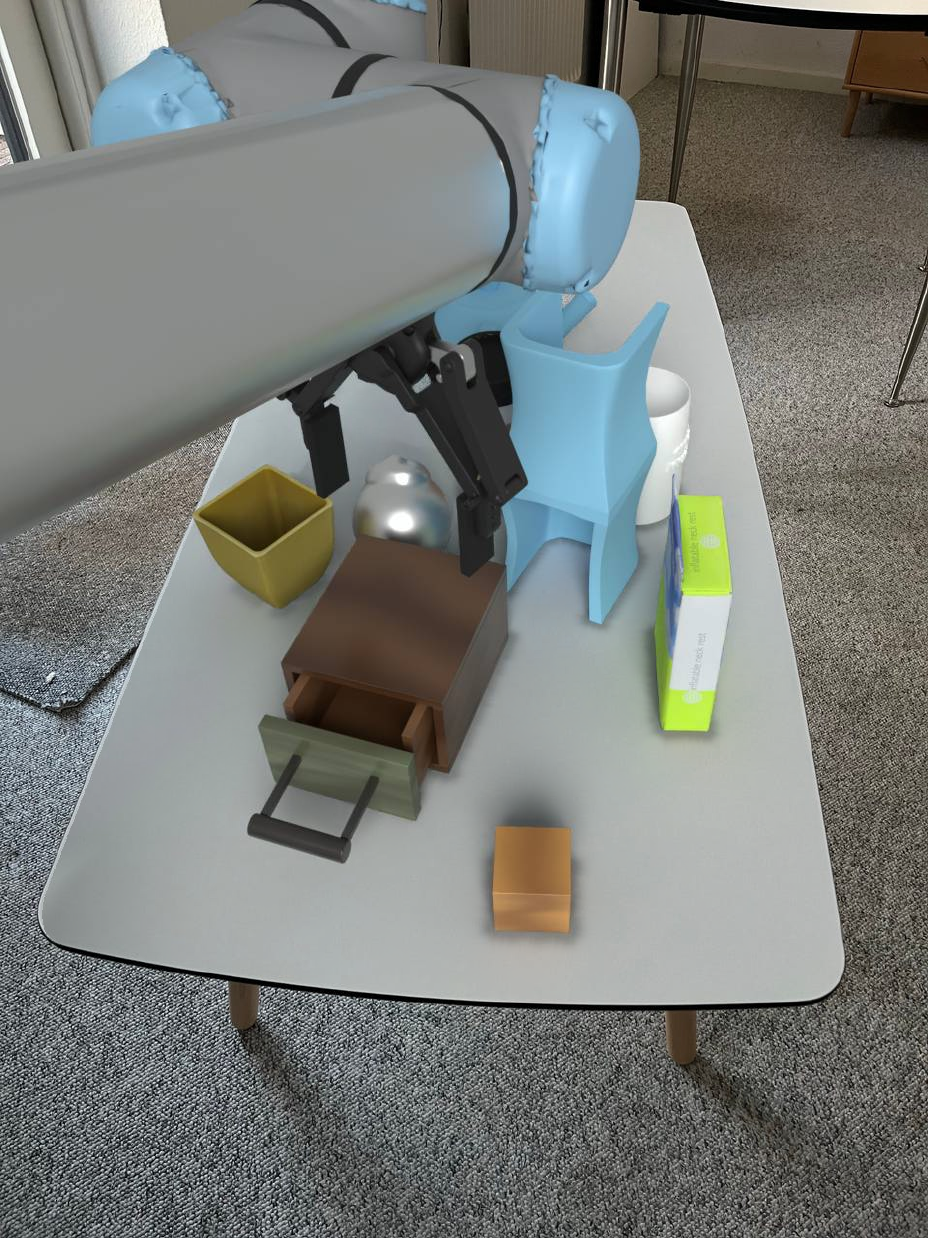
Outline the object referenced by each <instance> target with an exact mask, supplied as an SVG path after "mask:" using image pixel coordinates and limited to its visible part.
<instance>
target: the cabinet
mask: <svg viewBox="0 0 928 1238" xmlns="http://www.w3.org/2000/svg"><path fill="white" fill-rule="evenodd" d="M508 601H509V600H508V591H507V565H506V564H505V563H501V562H497V561H492V560H489V561H488V562H487V563H486V564H484V565H483V566H482V567H481V568H480V569H479V570H478V571H476V572H475V573H474V574H473V575H472V576H471V577H470V578H469V577H467V576H465V575H463V574H462V573H461V570H460V554H459V553H454V552H449V551H444V550H442V551H440V550H435V549H430V548H425V547H421V546H416V545H411V544H406V543H401V542H397V541H392V540H387V539H382V538H378V537H373V536H368V535H363V534H359V536H358V538H357V539H356V538H355V541H354V542H353V544H352V545H351V547H350V549H349V551H348V553H347V554H346V556H345V557H344V559H343V560H342V562H341V563H340V565H339V567H338V569H337V570H336V572H335V573H334V575H333V577H332V578H331V580H330V581H329V583H328V585H327V587H326V588H325V590H324V591H323V593H322V594H321V596H320V598H319V599H318V601H317V603H316V605H315V606H314V608H313V609H312V610H311V613H310V614H309V616H308V617H307V619H306V620H305V622H304V624H303V625H302V627H301V629H300V630H299V632H298V633H297V635H296V637H295V638H294V640H293V642H292V643H291V645H290V647H289V648H288V650H287V652H286V653H285V655H284V657H283V658H282V660H281V661H280V666H281V669H282V675H283V677H284V680H285V685H286V689H287V692H288V694H289V693H290V691H291V689H292V688H293V686H294V684H295V683H296V681H297V679H298V677H299V676H300V674H303V675H307V676H311V677H315V678H319V679H323V680H327V681H331V682H335V683H339V684H343V685H347V686H351V687H355V688H359V689H363V690H367V691H371V692H375V693H379V694H383V695H387V696H391V697H395V698H399V699H403V700H407V701H411V702H415V703H419V704H423V705H426V706H430V707H433V716H434V725H435V734H436V743H437V750H436V753H435V755H434V757H433V759H432V761H431V764H430V766H429V768H428V770H432V771H436V772H439V773H443V774H447V775H449V774H450V773H451V771H452V768H453V766H454V764H455V762H456V759H457V757H458V754H459V753H460V751H461V748H462V745H463V743H464V741H465V739H466V736H467V734H468V731H469V730H470V727H471V724H472V723H473V721H474V718H475V715H476V713H477V711H478V709H479V707H480V704H481V702H482V699H483V698H484V695H485V692H486V690H487V688H488V686H489V684H490V681H491V679H492V677H493V674H494V672H495V669H496V668H497V665H498V662H499V661H500V658H501V656H502V654H503V652H504V649H505V647H506V645H507V642H508V640H509V606H508V605H509V603H508Z"/></svg>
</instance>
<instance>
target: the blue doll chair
mask: <svg viewBox="0 0 928 1238" xmlns="http://www.w3.org/2000/svg"><path fill="white" fill-rule="evenodd" d="M670 307H671V305H670V303H665V302H661V301H656V302H655V303H654V305H653V307H652V308H651V309H650V310H649V312H648V313H647V314H646V315H645V317H644V318H643V319H642V321H641V322H640V323H639V324H638V325H637V327H636V328H635V329H634V331H633V332H632V333H631V335H630V336H629V337H628V338H627V340H626V341H625V342H624V343H623V344H622V345H621V347H620V348H619V349H618V350H615V351H612V352H604V353H581V352H576V351H573V350H572V351H571V350H568V349H564V338H563V312H562V309H563V294H562V293H555V292H548V291H541V290H536V292H535V294H534V295H533V296H532V297H531V298H530V299H529V300H528V301H527V302H526V303H525V304H524V305H523V306H522V307H521V308H520V310H519V311H518V312H517V313H516V314H515V315H514V316H513V317H512V318H511V319H510V320H509V321H508V322H507V324H506V325H505V326H504V327H503V329H502V331H501V333H500V339H501V343H502V347H503V350H504V354H505V358H506V361H507V366H508V370H509V375H510V381H511V387H512V395H513V416H512V424H511V430H510V434H509V435H510V437H511V440H512V442H513V445H514V447H515V449H516V452H517V454H518V457H519V459H520V462H521V464H522V467H523V469H524V471H525V474H526V476H527V479H528V485H527V486H526V487H525V488H524V489H523V490H521V491H520V492H519V493H518V494H517V495H516V496H514V497H513V498H512V499H511V500H510V501H508V502H507V503H506V504H505V505H504V506H502V507H501V513H502V515H503V519H504V523H505V527H506V536H507V546H506V556H505V562H504V564H506V565H507V593H508V592H510V591H511V589H512V588H513V586H514V584H515V583H516V582H517V581H518V579H519V578H520V576H521V575H522V574H523V572H524V571H525V569H526V568H527V567H528V565H529V564H530V562H531V561H532V560H533V559H534V557H535V555H536V554H537V553H538V551H539V550H540V549H541V547H542V546H543V545H544V544H545V543H546V542H548V541H551V540H554V539H560V538H562V539H563V538H564V539H570V540H573V541H577V542H580V543H583V544H586V545H590V558H589V576H588V592H589V593H588V611H589V612H588V620H589V621H591V622H593V623H596V624H599V625H602V624H603V622H604V621H605V619H606V617H607V616H608V614H609V613H610V611H611V610H612V608H613V606H614V605H615V604H616V601H617V600H618V598H619V597H620V595H621V593H622V592H623V590H624V589H625V587H626V586H627V584H628V582H629V581H630V579H631V577H632V576H633V574H634V572H635V570H636V569H637V567H638V565H639V563H640V557H639V556H640V555H639V550H638V544H637V543H638V542H637V525H636V514H637V508H638V503H639V499H640V495H641V492H642V489H643V486H644V483H645V481H646V478H647V475H648V473H649V470H650V468H651V465H652V463H653V460H654V458H655V456H656V450H657V440H656V437H655V435H654V432H653V429H652V426H651V423H650V419H649V415H648V410H647V404H646V381H647V375H648V369H649V367H650V365H651V361H652V357H653V354H654V351H655V347H656V345H657V341H658V339H659V336H660V333H661V331H662V328H663V326H664V324H665V321H666V318H667V316H668V313H669V310H670Z"/></svg>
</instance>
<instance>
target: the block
mask: <svg viewBox="0 0 928 1238" xmlns="http://www.w3.org/2000/svg"><path fill="white" fill-rule="evenodd" d="M571 830H572V829H571V827H541V826H540V827H537V826H511V825H510V826H507V825H496V826H495V831H494V832H495V833H494V834H495V835H494V855H493V875H492V892H491V893H492V909H493V926H494V930H495V931H512V932H513V931H514V932H538V933H539V932H543V933H567V934H568V933H570V925H571V904H572V848H571V846H572V844H571V843H572V837H571V836H572V835H571V833H572V832H571Z"/></svg>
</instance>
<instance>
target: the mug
mask: <svg viewBox="0 0 928 1238" xmlns="http://www.w3.org/2000/svg"><path fill="white" fill-rule="evenodd" d="M646 404H647V410H648V415H649V419H650V423H651V426H652V429H653V432H654V435H655V437H656V440H657V450H656V456H655V458H654V460H653V463H652V465H651V468H650V470H649V473H648V475H647V478H646V481H645V483H644V486H643V489H642V492H641V495H640V499H639V503H638V508H637V514H636V526H644V525H645V526H646V525H650V524H655V523H658V522H660V521H662V520H664V519H666V518H667V517H670V510H671V501H672V476H673V474H674V473H675V474H676V479H677V493H678V495H680V491H681V482H682V474H683V467H684V462H685V460H686V458H687V455H688V451H689V450H688V449H689V441H690V434H691V432H690V431H691V428H690V425H689V420H690V414H691V404H692V392H691V389H690V386H689V384H688V383H687V381H686V380H685V379H683V378H682V377H681V376H680V375H678V374H677V373H675V372H672V371H669V370H668V369H664V368H660V367H656V366H655V367H654V366H649V369H648V375H647V381H646Z"/></svg>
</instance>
